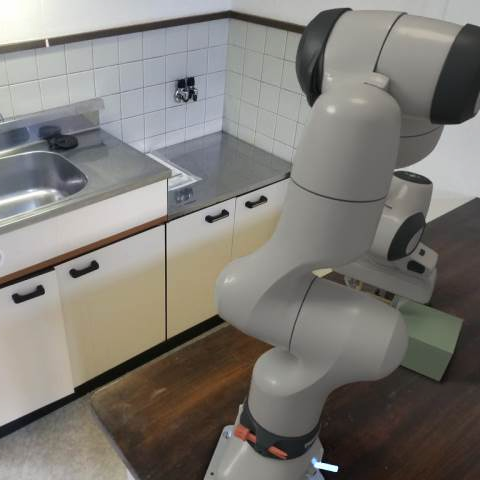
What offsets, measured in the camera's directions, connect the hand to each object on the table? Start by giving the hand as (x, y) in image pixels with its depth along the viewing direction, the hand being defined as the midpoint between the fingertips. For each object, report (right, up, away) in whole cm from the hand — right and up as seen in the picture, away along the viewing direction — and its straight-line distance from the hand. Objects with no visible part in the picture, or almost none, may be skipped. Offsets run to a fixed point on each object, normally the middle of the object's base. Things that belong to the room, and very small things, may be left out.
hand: (372, 300), depth 109 cm
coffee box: (+5, 0, +16) cm, 17 cm away
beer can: (+17, -3, +13) cm, 21 cm away
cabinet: (+8, -11, 0) cm, 14 cm away
